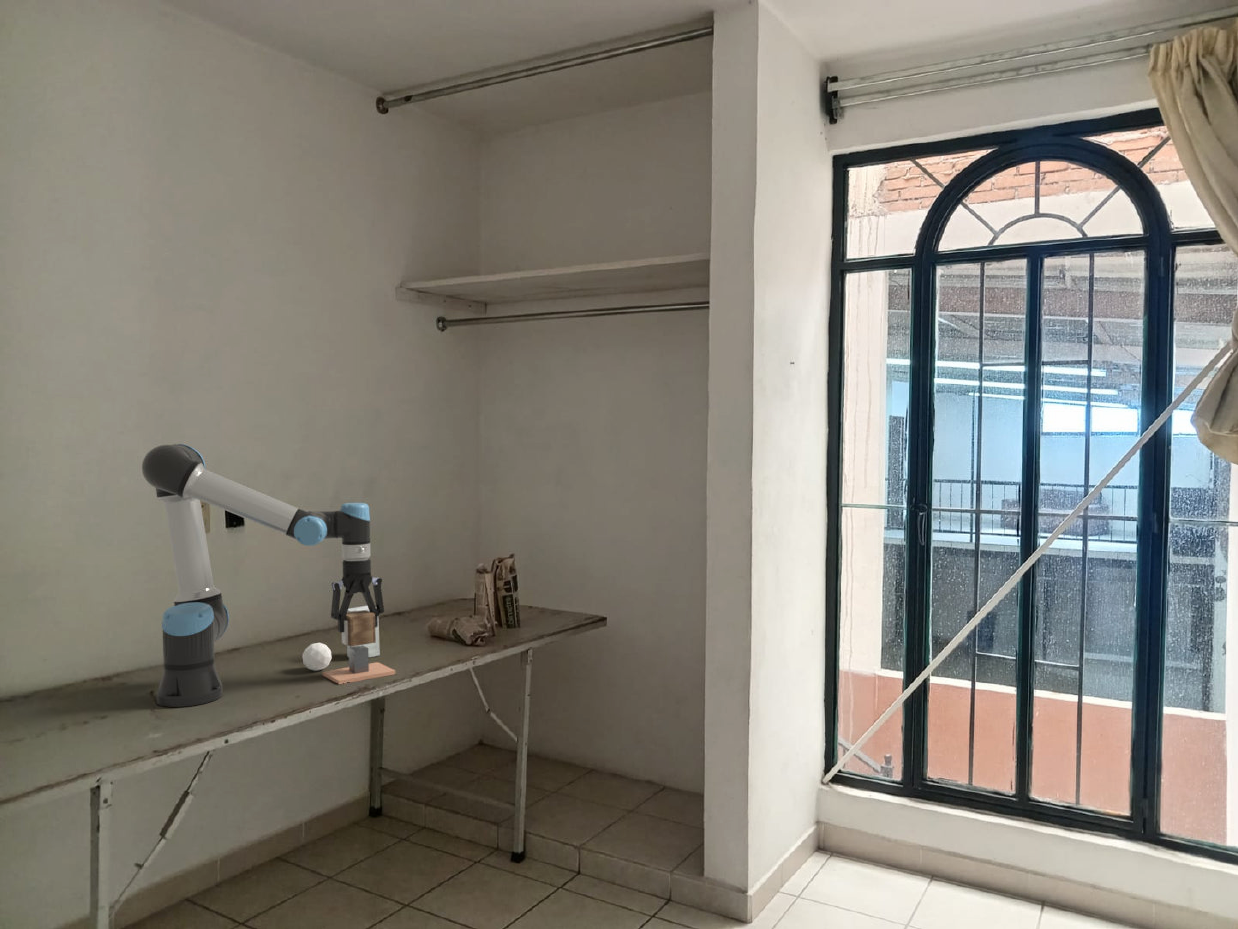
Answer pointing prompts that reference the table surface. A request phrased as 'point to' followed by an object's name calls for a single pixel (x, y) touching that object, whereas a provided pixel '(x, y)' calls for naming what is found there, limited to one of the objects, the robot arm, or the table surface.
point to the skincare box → (372, 647)
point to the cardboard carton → (360, 628)
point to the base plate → (347, 676)
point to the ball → (316, 656)
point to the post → (358, 659)
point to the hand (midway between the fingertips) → (358, 641)
